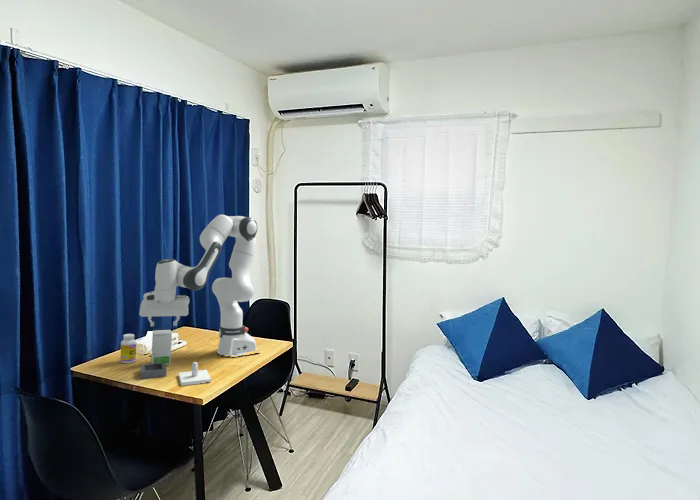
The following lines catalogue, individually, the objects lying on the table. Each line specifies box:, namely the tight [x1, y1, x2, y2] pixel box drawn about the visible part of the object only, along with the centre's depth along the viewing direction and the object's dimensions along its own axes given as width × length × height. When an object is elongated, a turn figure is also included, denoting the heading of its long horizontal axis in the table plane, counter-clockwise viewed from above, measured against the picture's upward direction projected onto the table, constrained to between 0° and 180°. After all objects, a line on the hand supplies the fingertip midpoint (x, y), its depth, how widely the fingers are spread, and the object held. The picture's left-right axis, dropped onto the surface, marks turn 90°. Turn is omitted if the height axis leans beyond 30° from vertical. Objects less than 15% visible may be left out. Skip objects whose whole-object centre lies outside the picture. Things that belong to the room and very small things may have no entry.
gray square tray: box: [140, 362, 167, 380], centre depth 195 cm, size 10×10×3 cm
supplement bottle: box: [119, 333, 137, 364], centre depth 208 cm, size 7×7×13 cm
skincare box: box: [150, 329, 173, 366], centre depth 208 cm, size 8×7×16 cm
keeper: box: [178, 361, 212, 387], centre depth 192 cm, size 12×12×8 cm
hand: (163, 325), depth 196 cm, fingers open, 8 cm apart
